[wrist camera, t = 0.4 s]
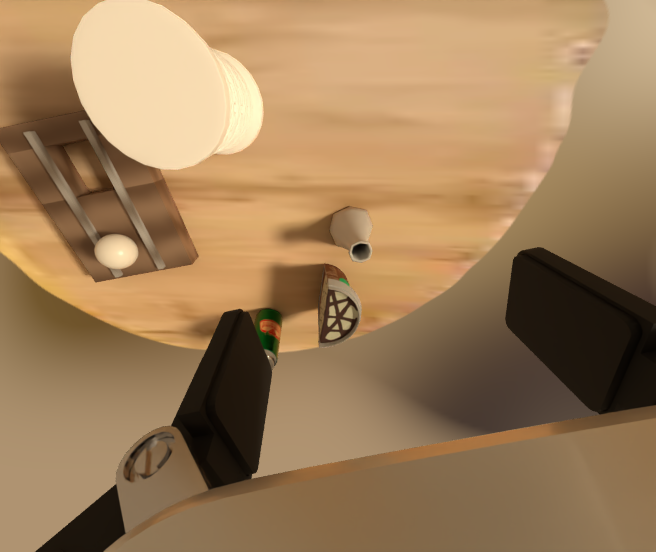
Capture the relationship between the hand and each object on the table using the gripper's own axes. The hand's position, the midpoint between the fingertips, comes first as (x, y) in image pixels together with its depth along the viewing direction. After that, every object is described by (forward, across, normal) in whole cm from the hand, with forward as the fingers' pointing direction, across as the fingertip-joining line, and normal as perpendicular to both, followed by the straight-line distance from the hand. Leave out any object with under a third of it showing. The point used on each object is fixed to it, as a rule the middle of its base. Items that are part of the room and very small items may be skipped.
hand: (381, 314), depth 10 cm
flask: (+36, -2, +9) cm, 37 cm away
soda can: (+36, +16, +24) cm, 46 cm away
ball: (+30, +32, +4) cm, 44 cm away
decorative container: (+36, +12, -11) cm, 40 cm away
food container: (+36, +2, +20) cm, 42 cm away
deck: (+36, +31, -3) cm, 48 cm away
